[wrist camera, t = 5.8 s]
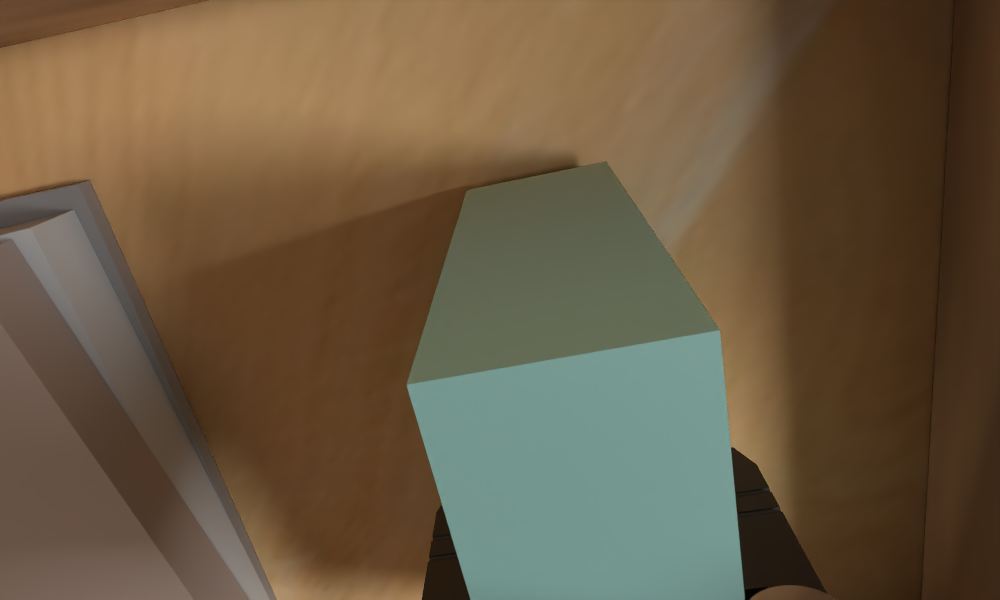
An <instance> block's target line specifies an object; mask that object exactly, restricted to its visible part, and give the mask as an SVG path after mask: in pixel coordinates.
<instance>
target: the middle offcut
mask: <svg viewBox="0 0 1000 600" xmlns="http://www.w3.org/2000/svg"><path fill="white" fill-rule="evenodd" d="M10 239H12V240H13V241H14V243H15V244H16V246H17V247H18V249H19V250H20V252H21V253H22V255H23V256H24V258H25V259H26V261H27V263H28V264H29V266H30V267H31V269H32V270H33V272H34V273H35V275H36V276H37V278H38V279H39V281H40V282H41V284H42V285H43V287H44V288H45V290H46V291H47V293H48V294H49V296H50V298H51V299H52V301H53V302H54V304H55V305H56V307H57V308H58V310H59V311H60V313H61V314H62V316H63V317H64V319H65V320H66V322H67V323H68V325H69V326H70V328H71V329H72V331H73V333H74V334H75V336H76V337H77V339H78V340H79V342H80V343H81V345H82V346H83V348H84V349H85V351H86V352H87V354H88V355H89V357H90V358H91V360H92V361H93V363H94V364H95V366H96V368H97V369H98V371H99V372H100V374H101V375H102V377H103V378H104V380H105V381H106V383H107V384H108V386H109V387H110V389H111V390H112V392H113V393H114V395H115V396H116V398H117V399H118V401H119V403H120V404H121V406H122V407H123V409H124V410H125V412H126V413H127V415H128V416H129V418H130V419H131V421H132V422H133V424H134V425H135V427H136V428H137V430H138V432H139V433H140V435H141V436H142V438H143V439H144V441H145V442H146V444H147V445H148V447H149V448H150V450H151V451H152V453H153V454H154V456H155V457H156V459H157V460H158V462H159V463H160V465H161V466H162V468H163V469H164V471H165V473H166V474H167V476H168V477H169V479H170V480H171V482H172V483H173V485H174V486H175V488H176V489H177V491H178V492H179V494H180V495H181V497H182V498H183V500H184V501H185V503H186V504H187V506H188V508H189V509H190V511H191V512H192V514H193V515H194V517H195V518H196V520H197V521H198V523H199V524H200V526H201V527H202V529H203V530H204V532H205V533H206V535H207V536H208V538H209V539H210V541H211V543H212V544H213V546H214V547H215V549H216V550H217V552H218V553H219V555H220V556H221V558H222V559H223V561H224V562H225V564H226V565H227V567H228V568H229V570H230V571H231V573H232V574H233V576H234V578H235V579H236V581H237V582H238V584H239V585H240V587H241V588H242V590H243V591H244V593H245V594H246V596H247V597H248V599H249V600H270V599H269V597H268V595H267V593H266V591H265V589H264V587H263V585H262V583H261V581H260V579H259V577H258V575H257V573H256V571H255V569H254V567H253V565H252V563H251V561H250V559H249V557H248V555H247V553H246V551H245V549H244V547H243V545H242V543H241V541H240V539H239V537H238V535H237V533H236V531H235V529H234V527H233V525H232V523H231V521H230V519H229V517H228V515H227V513H226V511H225V509H224V507H223V505H222V503H221V501H220V499H219V498H218V496H217V494H216V492H215V490H214V488H213V486H212V484H211V482H210V480H209V478H208V476H207V474H206V472H205V470H204V468H203V466H202V464H201V462H200V460H199V458H198V456H197V454H196V452H195V450H194V448H193V446H192V444H191V442H190V440H189V438H188V436H187V434H186V432H185V430H184V428H183V426H182V424H181V422H180V420H179V418H178V416H177V414H176V412H175V410H174V408H173V406H172V404H171V402H170V400H169V398H168V396H167V394H166V392H165V390H164V388H163V386H162V384H161V382H160V380H159V378H158V376H157V374H156V372H155V370H154V368H153V366H152V364H151V362H150V360H149V358H148V356H147V354H146V352H145V350H144V348H143V346H142V344H141V342H140V340H139V338H138V336H137V334H136V332H135V330H134V328H133V326H132V324H131V322H130V320H129V318H128V316H127V314H126V312H125V310H124V308H123V306H122V304H121V302H120V300H119V298H118V296H117V294H116V292H115V290H114V289H113V287H112V285H111V283H110V281H109V279H108V277H107V275H106V273H105V271H104V269H103V267H102V265H101V263H100V261H99V259H98V257H97V255H96V253H95V251H94V249H93V247H92V245H91V243H90V241H89V239H88V237H87V235H86V233H85V231H84V229H83V227H82V225H81V223H80V221H79V219H78V217H77V215H76V213H75V211H74V210H70V211H66V212H62V213H59V214H55V215H51V216H47V217H43V218H39V219H35V220H31V221H27V222H23V223H19V224H15V225H11V226H7V227H3V228H0V243H2V242H5V241H8V240H10Z"/></svg>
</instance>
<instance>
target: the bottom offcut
mask: <svg viewBox="0 0 1000 600" xmlns="http://www.w3.org/2000/svg"><path fill="white" fill-rule="evenodd" d="M70 210H74V211H75V213H76V215H77V217H78V219H79V221H80V223H81V225H82V227H83V229H84V231H85V233H86V235H87V237H88V239H89V241H90V243H91V245H92V247H93V249H94V251H95V253H96V255H97V257H98V259H99V261H100V263H101V265H102V267H103V269H104V271H105V273H106V275H107V277H108V279H109V281H110V283H111V285H112V287H113V289H114V290H115V292H116V294H117V296H118V298H119V300H120V302H121V304H122V306H123V308H124V310H125V312H126V314H127V316H128V318H129V320H130V322H131V324H132V326H133V328H134V330H135V332H136V334H137V336H138V338H139V340H140V342H141V344H142V346H143V348H144V350H145V352H146V354H147V356H148V358H149V360H150V362H151V364H152V366H153V368H154V370H155V372H156V374H157V376H158V378H159V380H160V382H161V384H162V386H163V388H164V390H165V392H166V394H167V396H168V398H169V400H170V402H171V404H172V406H173V408H174V410H175V412H176V414H177V416H178V418H179V420H180V422H181V424H182V426H183V428H184V430H185V432H186V434H187V436H188V438H189V440H190V442H191V444H192V446H193V448H194V450H195V452H196V454H197V456H198V458H199V460H200V462H201V464H202V466H203V468H204V470H205V472H206V474H207V476H208V478H209V480H210V482H211V484H212V486H213V488H214V490H215V492H216V494H217V496H218V498H219V499H220V501H221V503H222V505H223V507H224V509H225V511H226V513H227V515H228V517H229V519H230V521H231V523H232V525H233V527H234V529H235V531H236V533H237V535H238V537H239V539H240V541H241V543H242V545H243V547H244V549H245V551H246V553H247V555H248V557H249V559H250V561H251V563H252V565H253V567H254V569H255V571H256V573H257V575H258V577H259V579H260V581H261V583H262V585H263V587H264V589H265V591H266V593H267V595H268V597H269V599H270V600H277V599H276V597H275V595H274V593H273V590H272V588H271V586H270V584H269V581H268V579H267V577H266V575H265V572H264V570H263V568H262V566H261V563H260V561H259V559H258V557H257V554H256V552H255V550H254V548H253V545H252V543H251V541H250V539H249V536H248V534H247V532H246V530H245V527H244V525H243V523H242V521H241V518H240V516H239V514H238V512H237V509H236V507H235V505H234V503H233V500H232V498H231V496H230V494H229V492H228V489H227V487H226V485H225V483H224V480H223V478H222V476H221V474H220V471H219V469H218V467H217V465H216V462H215V460H214V458H213V456H212V453H211V451H210V449H209V447H208V444H207V442H206V440H205V438H204V435H203V433H202V431H201V429H200V426H199V424H198V422H197V420H196V417H195V415H194V413H193V411H192V408H191V406H190V404H189V402H188V399H187V397H186V395H185V393H184V390H183V388H182V386H181V384H180V381H179V379H178V377H177V375H176V372H175V370H174V368H173V366H172V364H171V361H170V359H169V357H168V355H167V352H166V350H165V348H164V346H163V343H162V341H161V339H160V337H159V334H158V332H157V330H156V328H155V325H154V323H153V321H152V319H151V316H150V314H149V312H148V310H147V307H146V305H145V303H144V301H143V298H142V296H141V294H140V292H139V289H138V287H137V285H136V283H135V280H134V278H133V276H132V274H131V271H130V269H129V267H128V265H127V262H126V260H125V258H124V256H123V253H122V251H121V249H120V247H119V244H118V242H117V240H116V238H115V236H114V233H113V231H112V229H111V227H110V224H109V222H108V220H107V218H106V215H105V213H104V211H103V209H102V206H101V204H100V202H99V200H98V197H97V195H96V193H95V191H94V188H93V186H92V184H91V182H90V180H88V181H83V182H79V183H74V184H70V185H65V186H60V187H56V188H51V189H46V190H42V191H37V192H33V193H28V194H23V195H19V196H14V197H9V198H5V199H0V228H3V227H7V226H11V225H15V224H19V223H23V222H27V221H31V220H35V219H39V218H43V217H47V216H51V215H55V214H59V213H62V212H66V211H70Z"/></svg>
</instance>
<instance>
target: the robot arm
mask: <svg viewBox="0 0 1000 600" xmlns="http://www.w3.org/2000/svg"><path fill="white" fill-rule="evenodd" d="M731 455H732V465H733V476H734V487H735V498H736V509H737V519H738V530H739V541H740V552H741V562H742V573H743V584H744V595H745V600H838V599H836V598H834V597H833V596H831V595H829V594H828V593H827V592H826V590H825V589H824V587H823V586H822V584H821V582H820V580H819V578H818V577H817V575H816V573H815V571H814V569H813V567H812V566H811V564H810V562H809V560H808V558H807V556H806V555H805V553H804V551H803V549H802V547H801V545H800V544H799V542H798V540H797V538H796V536H795V534H794V533H793V531H792V529H791V527H790V525H789V523H788V522H787V520H786V518H785V516H784V514H783V512H781V511H780V507H779V505H778V503H777V501H776V499H775V498H774V496H773V494H772V492H770V490H769V487H768V485H767V483H766V481H765V479H764V477H763V476H762V474H761V472H760V470H759V468H758V466H757V465H756V464H755V463H754V462H752V461H751V460H749V459H748V458H747V457H745V456H744V455H743V454H741V453H740V452H739V451H737V450H736V449H735V448H733V447H732V448H731ZM429 558H430V561H429V562H428V566H427V572H426V578H425V584H424V590H423V596H422V600H470V597H469V593H468V590H467V586H466V583H465V580H464V576H463V573H462V570H461V566H460V563H459V560H458V556H457V553H456V550H455V546H454V543H453V540H452V536H451V533H450V530H449V526H448V523H447V520H446V516H445V513H444V509H443V506H442V505H441V507H440V508H439V510H438V511H437V513H436V519H435V525H434V531H433V541H432V543H431V549H430V554H429Z"/></svg>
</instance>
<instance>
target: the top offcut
mask: <svg viewBox="0 0 1000 600" xmlns="http://www.w3.org/2000/svg"><path fill="white" fill-rule="evenodd" d="M0 600H249V599H248V597H247V596H246V594H245V593H244V591H243V590H242V588H241V587H240V585H239V584H238V582H237V581H236V579H235V578H234V576H233V574H232V573H231V571H230V570H229V568H228V567H227V565H226V564H225V562H224V561H223V559H222V558H221V556H220V555H219V553H218V552H217V550H216V549H215V547H214V546H213V544H212V543H211V541H210V539H209V538H208V536H207V535H206V533H205V532H204V530H203V529H202V527H201V526H200V524H199V523H198V521H197V520H196V518H195V517H194V515H193V514H192V512H191V511H190V509H189V508H188V506H187V504H186V503H185V501H184V500H183V498H182V497H181V495H180V494H179V492H178V491H177V489H176V488H175V486H174V485H173V483H172V482H171V480H170V479H169V477H168V476H167V474H166V473H165V471H164V469H163V468H162V466H161V465H160V463H159V462H158V460H157V459H156V457H155V456H154V454H153V453H152V451H151V450H150V448H149V447H148V445H147V444H146V442H145V441H144V439H143V438H142V436H141V435H140V433H139V432H138V430H137V428H136V427H135V425H134V424H133V422H132V421H131V419H130V418H129V416H128V415H127V413H126V412H125V410H124V409H123V407H122V406H121V404H120V403H119V401H118V399H117V398H116V396H115V395H114V393H113V392H112V390H111V389H110V387H109V386H108V384H107V383H106V381H105V380H104V378H103V377H102V375H101V374H100V372H99V371H98V369H97V368H96V366H95V364H94V363H93V361H92V360H91V358H90V357H89V355H88V354H87V352H86V351H85V349H84V348H83V346H82V345H81V343H80V342H79V340H78V339H77V337H76V336H75V334H74V333H73V331H72V329H71V328H70V326H69V325H68V323H67V322H66V320H65V319H64V317H63V316H62V314H61V313H60V311H59V310H58V308H57V307H56V305H55V304H54V302H53V301H52V299H51V298H50V296H49V294H48V293H47V291H46V290H45V288H44V287H43V285H42V284H41V282H40V281H39V279H38V278H37V276H36V275H35V273H34V272H33V270H32V269H31V267H30V266H29V264H28V263H27V261H26V259H25V258H24V256H23V255H22V253H21V252H20V250H19V249H18V247H17V246H16V244H15V243H14V241H13V240H12V239H10V240H8V241H5V242H2V243H0Z"/></svg>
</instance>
